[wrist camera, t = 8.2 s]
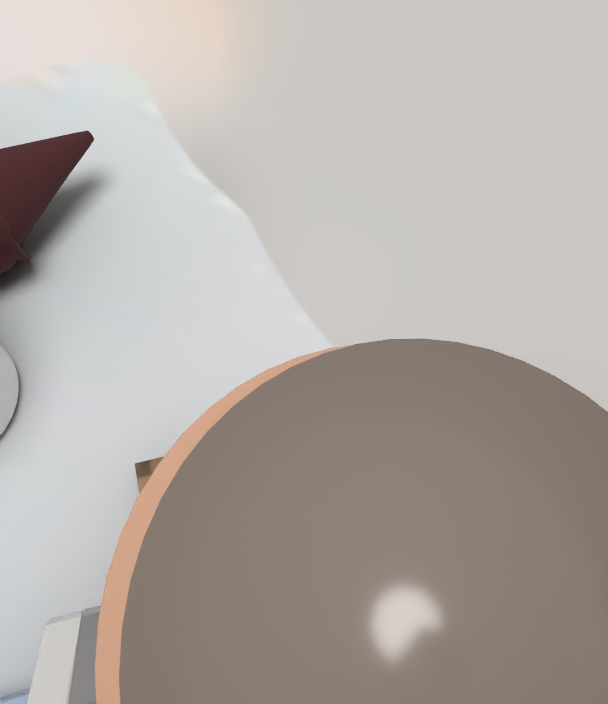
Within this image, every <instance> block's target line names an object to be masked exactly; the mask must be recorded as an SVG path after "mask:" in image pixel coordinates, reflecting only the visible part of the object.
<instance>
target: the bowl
mask: <svg viewBox="0 0 608 704" xmlns="http://www.w3.org/2000/svg"><path fill="white" fill-rule="evenodd" d="M29 691H30V689H29V690H24V691H20V692H17V693H14V694H11V695H9V696H6V697H3V698H1V699H0V704H27V700H28V696H29Z"/></svg>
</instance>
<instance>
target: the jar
mask: <svg viewBox="0 0 608 704" xmlns="http://www.w3.org/2000/svg"><path fill="white" fill-rule="evenodd" d="M95 687H96V704H608V412H607V411H605V410H604V409H603V408H601V407H600V406H599V405H598V404H596V403H595V402H594V401H593V400H591V399H590V398H589V397H587V396H586V395H585V394H583V393H581V392H580V391H578V390H576V389H575V388H573V387H572V386H570V385H568V384H567V383H565V382H563V381H562V380H560V379H559V378H557V377H555V376H553V375H551V374H549V373H547V372H545V371H543V370H540V369H539V368H537V367H534V366H532V365H530V364H528V363H526V362H524V361H521V360H519V359H516V358H513V357H510V356H507V355H504V354H501V353H498V352H495V351H493V350H490V349H485V348H481V347H476V346H471V345H467V344H462V343H458V342H450V341H441V340H431V339H389V340H382V341H375V342H368V343H361V344H355V345H351V346H344V347H337V348H330V349H326V350H322V351H319V352H315V353H311V354H308V355H304V356H301V357H297V358H295V359H292V360H290V361H288V362H285V363H283V364H280V365H278V366H276V367H273V368H271V369H268V370H266V371H264V372H263V373H261V374H259V375H257V376H256V377H254V378H252V379H250V380H249V381H247V382H245V383H243V384H242V385H240V386H238V387H237V388H235V389H234V390H233V391H231V392H230V393H229V394H227V395H226V396H225V397H223V398H222V399H221V400H219V401H218V402H217V403H215V404H214V405H213V406H211V407H210V408H209V409H208V410H207V411H206V412H205V413H204V414H203V415H202V416H201V417H200V418H198V419H197V420H196V421H195V422H194V423H193V424H192V425H191V426H190V427H189V428H188V429H187V430H186V431H185V432H184V433H183V434H182V435H181V437H180V438H179V439H178V440H177V442H176V443H175V444H174V445H173V447H172V448H171V449H170V450H169V452H168V453H167V454H166V455H165V457H164V458H163V459H162V460H161V461H160V463H159V464H158V466H157V467H156V469H155V471H154V472H153V474H152V475H151V477H150V479H149V480H148V482H147V483H146V485H145V487H144V488H143V490H142V492H141V493H140V495H139V496H138V498H137V500H136V503H135V505H134V507H133V509H132V511H131V513H130V516H129V518H128V520H127V522H126V524H125V526H124V529H123V531H122V533H121V535H120V538H119V541H118V544H117V547H116V550H115V553H114V557H113V560H112V563H111V566H110V569H109V572H108V575H107V579H106V584H105V589H104V595H103V600H102V605H101V610H100V615H99V620H98V631H97V645H96V658H95Z"/></svg>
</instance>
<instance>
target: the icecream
mask: <svg viewBox="0 0 608 704" xmlns="http://www.w3.org/2000/svg"><path fill="white" fill-rule="evenodd" d="M93 140H94V138H93V136H92V134H91V133H90V132H89V131H83V132H77V133H72V134H68V135H63V136H59V137H54V138H49V139H45V140H40V141H35V142H31V143H26V144H21V145H17V146H12V147H8V148H3V149H0V273H3V272H5V271H7V270H10V269H11V268H12V267H13V265H14V264H15V262H16V261H22V262H26V263H30V262H31V257H30V256H29V255H28V254H27V253H26V252H25V251H24V250H23V245H22V241H23V240H24V238H25V237H26V235H27V234H28V233H29V231H30V230H31V228H32V227H33V225H34V224H35V223H36V221H37V220H38V218H39V217H40V215H41V214H42V213H43V211H44V210H45V208H46V207H47V205H48V204H49V203H50V201H51V200H52V198H53V197H54V195H55V194H56V193H57V191H58V190H59V188H60V187H61V185H62V184H63V183H64V181H65V180H66V178H67V177H68V175H69V174H70V173H71V171H72V170H73V168H74V167H75V166H76V164H77V163H78V162H79V160H80V159H81V158H82V156H83V155H84V154H85V152H86V151H87V149H88V148H89V147H90V145H91V143H92V142H93Z"/></svg>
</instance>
